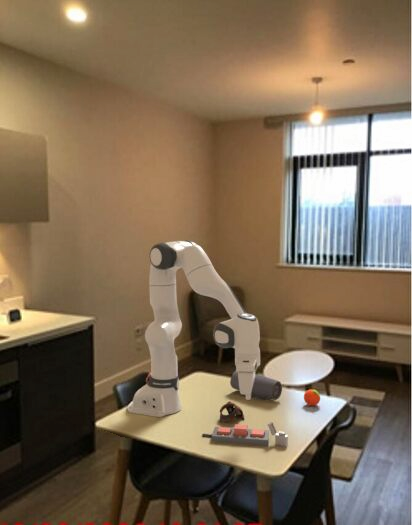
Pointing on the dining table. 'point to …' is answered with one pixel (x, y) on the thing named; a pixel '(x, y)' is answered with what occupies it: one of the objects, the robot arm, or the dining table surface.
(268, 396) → the bluetooth speaker
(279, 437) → the lighter
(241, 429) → the button
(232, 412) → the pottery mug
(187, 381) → the dining table surface
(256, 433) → the button
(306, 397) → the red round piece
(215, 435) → the power strip
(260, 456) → the dining table surface
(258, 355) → the robot arm
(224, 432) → the button
